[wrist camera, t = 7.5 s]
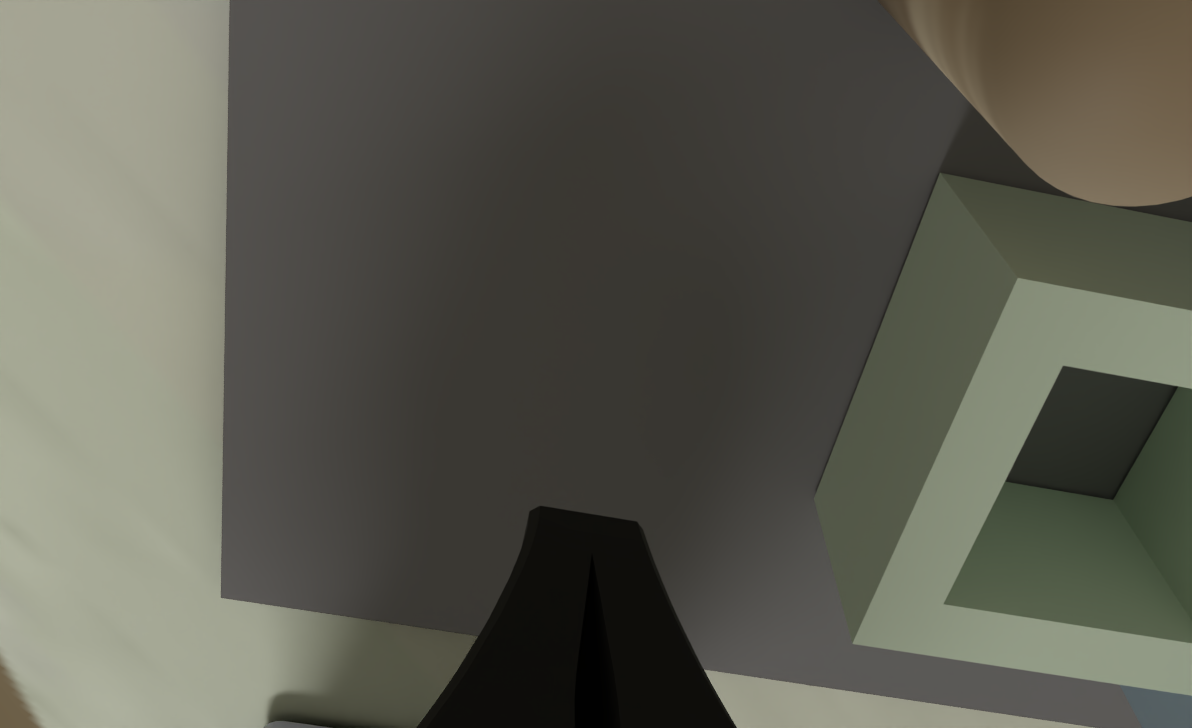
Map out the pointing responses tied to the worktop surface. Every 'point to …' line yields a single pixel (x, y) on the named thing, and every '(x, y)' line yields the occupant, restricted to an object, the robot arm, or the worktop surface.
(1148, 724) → the backstop wall
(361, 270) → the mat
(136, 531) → the worktop surface
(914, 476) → the socket block
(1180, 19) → the dowel
